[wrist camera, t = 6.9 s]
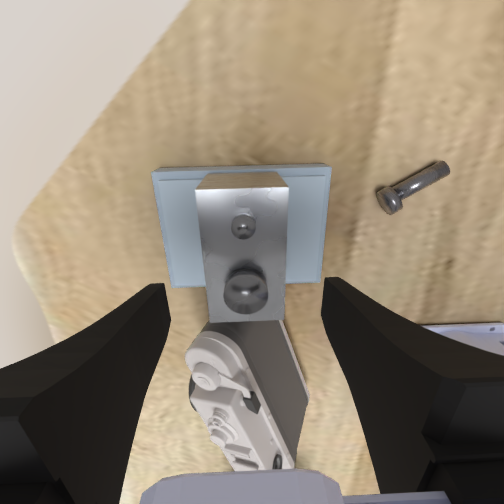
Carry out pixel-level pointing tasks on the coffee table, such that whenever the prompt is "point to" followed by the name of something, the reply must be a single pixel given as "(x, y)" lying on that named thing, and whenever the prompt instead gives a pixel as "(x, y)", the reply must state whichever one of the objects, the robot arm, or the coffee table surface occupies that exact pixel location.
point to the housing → (244, 244)
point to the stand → (298, 229)
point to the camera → (249, 392)
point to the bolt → (410, 187)
